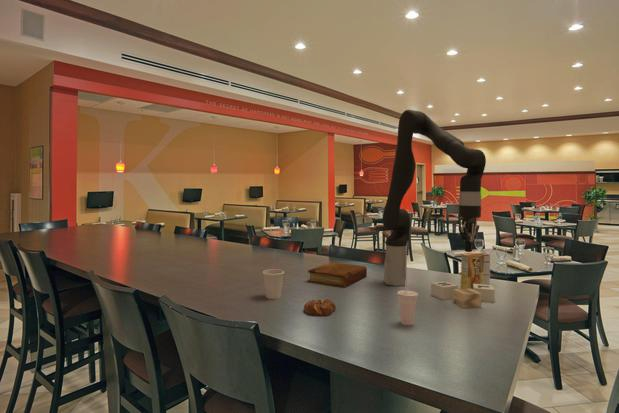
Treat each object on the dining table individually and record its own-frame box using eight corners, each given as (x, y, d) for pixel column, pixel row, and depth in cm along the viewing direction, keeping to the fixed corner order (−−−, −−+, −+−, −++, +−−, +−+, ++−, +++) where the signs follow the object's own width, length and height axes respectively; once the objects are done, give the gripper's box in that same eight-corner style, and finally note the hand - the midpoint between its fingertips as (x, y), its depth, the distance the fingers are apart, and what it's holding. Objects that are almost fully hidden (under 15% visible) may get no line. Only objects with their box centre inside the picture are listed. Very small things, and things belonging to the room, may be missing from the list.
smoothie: (394, 319, 124) (394, 277, 123) (413, 319, 124) (414, 276, 124) (400, 327, 117) (401, 282, 117) (420, 326, 118) (421, 281, 117)
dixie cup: (267, 301, 143) (267, 274, 142) (259, 295, 150) (259, 270, 149) (287, 298, 146) (287, 272, 146) (279, 292, 154) (279, 268, 153)
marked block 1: (443, 300, 146) (443, 286, 146) (430, 295, 153) (431, 282, 152) (457, 298, 149) (457, 285, 149) (444, 293, 155) (445, 280, 155)
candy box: (474, 287, 164) (476, 252, 164) (483, 289, 161) (484, 253, 160) (459, 289, 161) (461, 253, 160) (468, 292, 157) (469, 255, 156)
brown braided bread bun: (318, 304, 140) (318, 294, 140) (342, 310, 134) (343, 300, 133) (296, 312, 131) (296, 301, 131) (322, 319, 124) (322, 308, 124)
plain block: (462, 308, 137) (463, 294, 137) (453, 302, 144) (453, 289, 144) (481, 307, 138) (481, 293, 137) (470, 301, 145) (471, 288, 144)
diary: (345, 289, 162) (345, 275, 162) (307, 283, 172) (308, 270, 172) (366, 277, 182) (366, 265, 182) (331, 273, 192) (331, 261, 191)
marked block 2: (473, 300, 146) (474, 287, 145) (472, 295, 152) (473, 283, 152) (494, 303, 143) (494, 289, 143) (492, 297, 150) (492, 284, 149)
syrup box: (490, 286, 166) (491, 253, 165) (475, 285, 167) (476, 252, 167) (486, 283, 172) (487, 251, 171) (472, 282, 173) (473, 250, 172)
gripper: (472, 205, 131) (471, 255, 132) (487, 204, 141) (486, 250, 142) (451, 204, 137) (450, 252, 138) (467, 203, 146) (466, 248, 147)
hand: (468, 251), depth 140 cm, fingers closed
